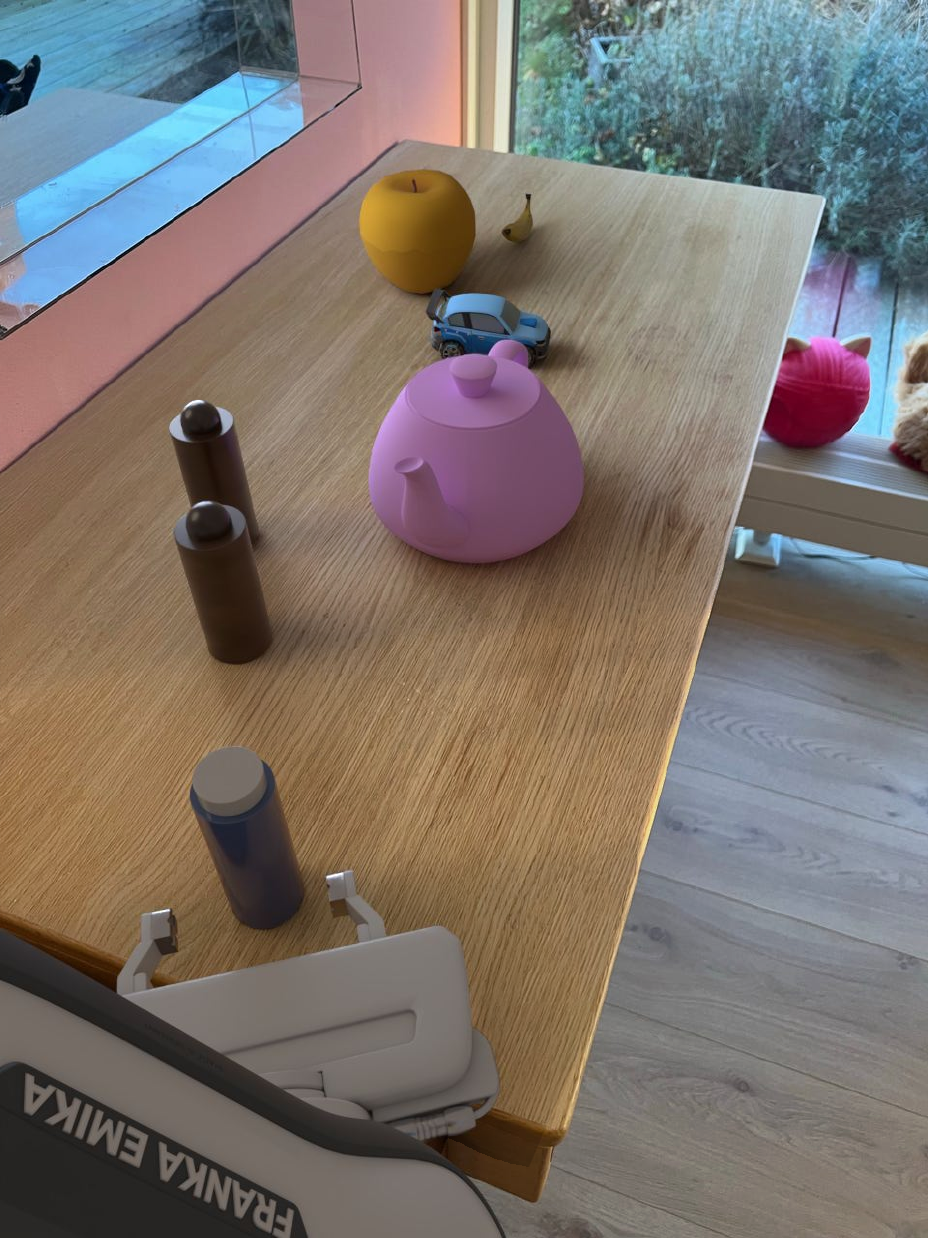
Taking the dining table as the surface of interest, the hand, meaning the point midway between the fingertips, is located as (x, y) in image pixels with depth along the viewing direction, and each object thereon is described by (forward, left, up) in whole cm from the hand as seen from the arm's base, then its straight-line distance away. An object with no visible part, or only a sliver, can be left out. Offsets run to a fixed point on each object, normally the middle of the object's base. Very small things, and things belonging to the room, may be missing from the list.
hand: (251, 896), depth 52 cm
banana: (-25, +88, -7) cm, 92 cm away
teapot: (-7, +40, -7) cm, 41 cm away
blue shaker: (-2, +3, -6) cm, 7 cm away
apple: (-31, +75, -7) cm, 81 cm away
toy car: (-17, +64, -7) cm, 67 cm away
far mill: (-24, +29, -6) cm, 38 cm away
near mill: (-16, +19, -6) cm, 26 cm away
